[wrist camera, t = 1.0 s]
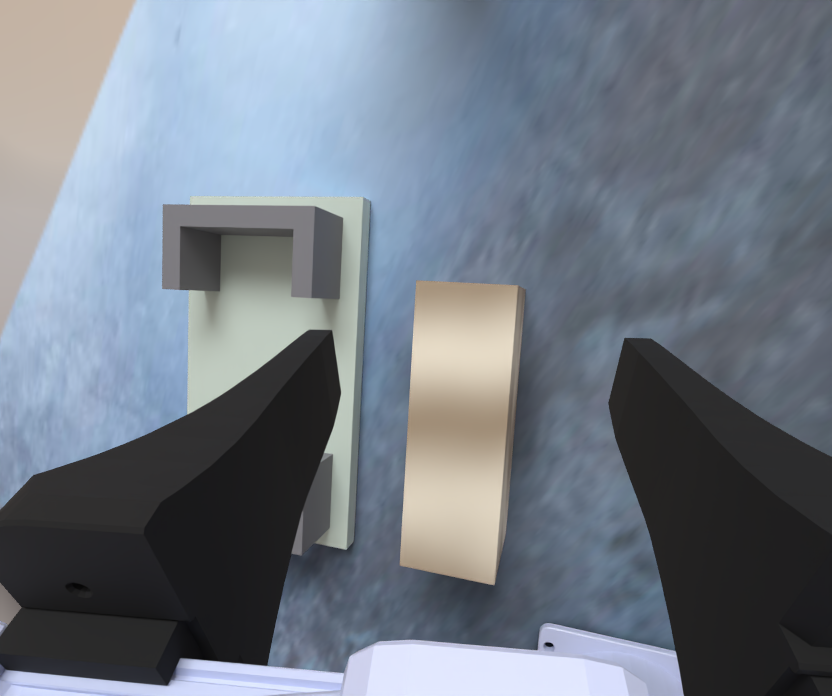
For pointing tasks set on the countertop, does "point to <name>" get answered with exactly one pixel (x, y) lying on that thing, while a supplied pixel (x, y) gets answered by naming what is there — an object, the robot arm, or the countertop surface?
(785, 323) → the countertop surface
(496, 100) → the countertop surface
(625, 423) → the robot arm
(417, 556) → the slat
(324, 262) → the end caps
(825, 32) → the countertop surface
